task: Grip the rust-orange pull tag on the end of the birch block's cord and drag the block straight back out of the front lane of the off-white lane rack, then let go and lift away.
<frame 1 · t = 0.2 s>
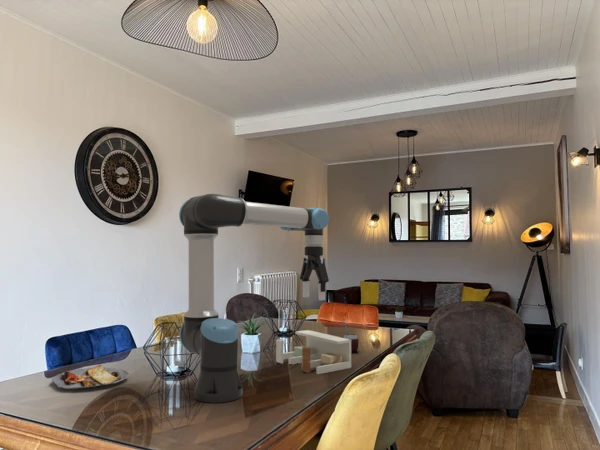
hand: (313, 298, 187), 27 cm above the table, tool pointing down, fingers open, 13 cm apart
lane rack: (312, 363, 189), on the table
birch block: (331, 367, 184), resting in lane rack
food plate: (90, 383, 161), on the table
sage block: (304, 359, 198), resting in lane rack
mate gourd: (350, 353, 211), on the table
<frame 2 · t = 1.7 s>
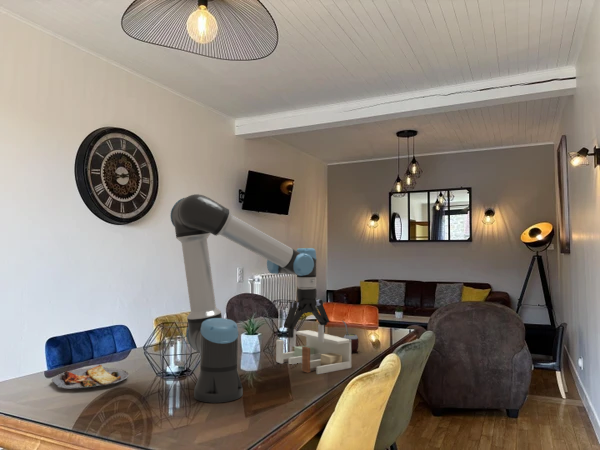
hand: (307, 344, 177), 10 cm above the table, tool pointing down, fingers open, 13 cm apart
nothing on the table moved.
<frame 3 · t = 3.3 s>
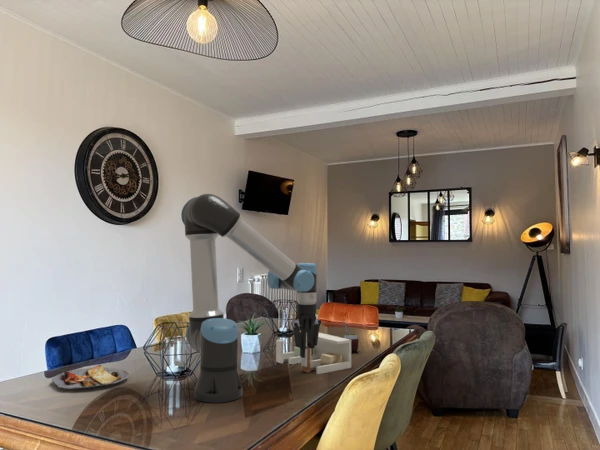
hand: (306, 365, 176), 2 cm above the table, tool pointing down, fingers closed on birch block
birch block: (331, 367, 184), resting in lane rack, touching gripper
everything else where it was.
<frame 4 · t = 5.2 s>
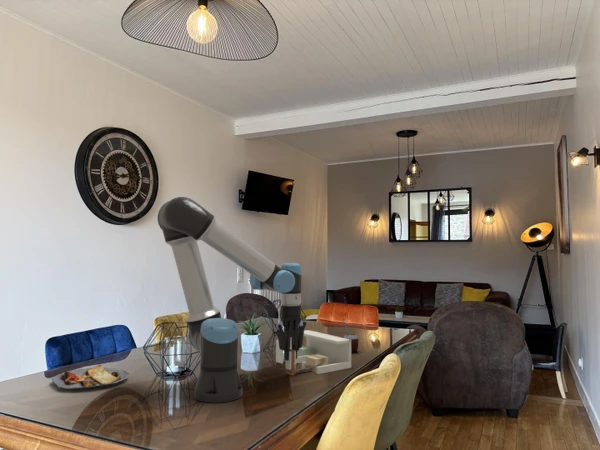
hand: (290, 368, 172), 2 cm above the table, tool pointing down, fingers closed on birch block
birch block: (316, 369, 180), on the table, touching gripper
everything else where it was.
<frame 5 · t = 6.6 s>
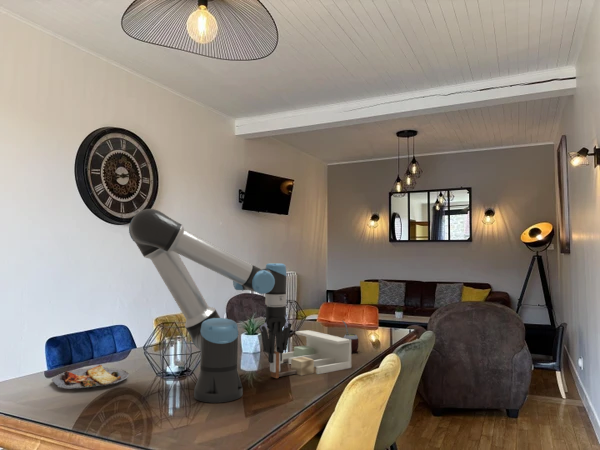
hand: (275, 371, 168), 2 cm above the table, tool pointing down, fingers closed on birch block
birch block: (302, 372, 175), on the table, touching gripper
everything else where it was.
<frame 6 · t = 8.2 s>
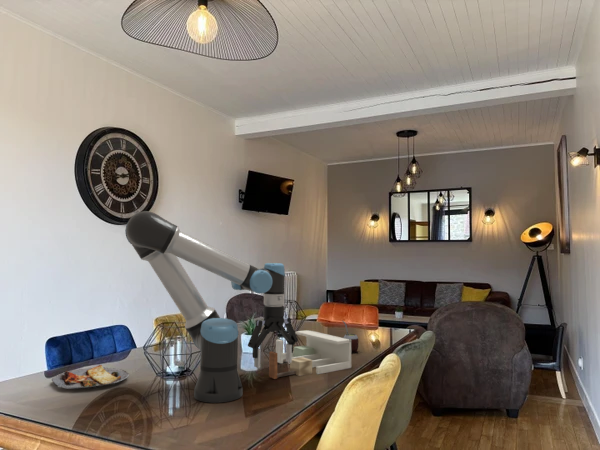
hand: (273, 364, 168), 5 cm above the table, tool pointing down, fingers open, 13 cm apart
birch block: (301, 373, 175), on the table
everything else where it was.
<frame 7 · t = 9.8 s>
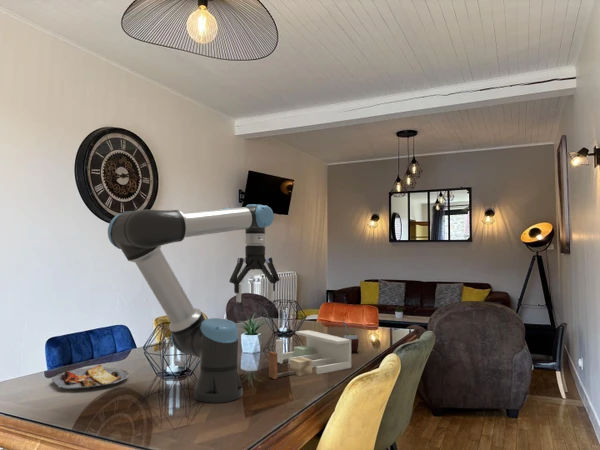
hand: (255, 301, 176), 27 cm above the table, tool pointing down, fingers open, 13 cm apart
nothing on the table moved.
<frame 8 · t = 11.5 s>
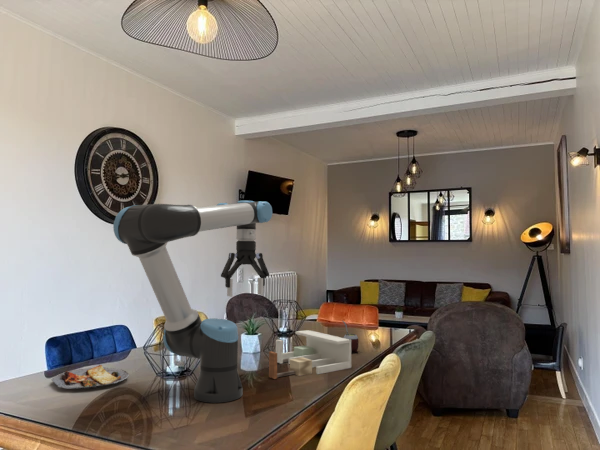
hand: (245, 295, 179), 29 cm above the table, tool pointing down, fingers open, 13 cm apart
nothing on the table moved.
at the end: birch block inside the target area (2.9 cm from its centre), on the table; birch block tilted 0°; the gripper is holding nothing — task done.
